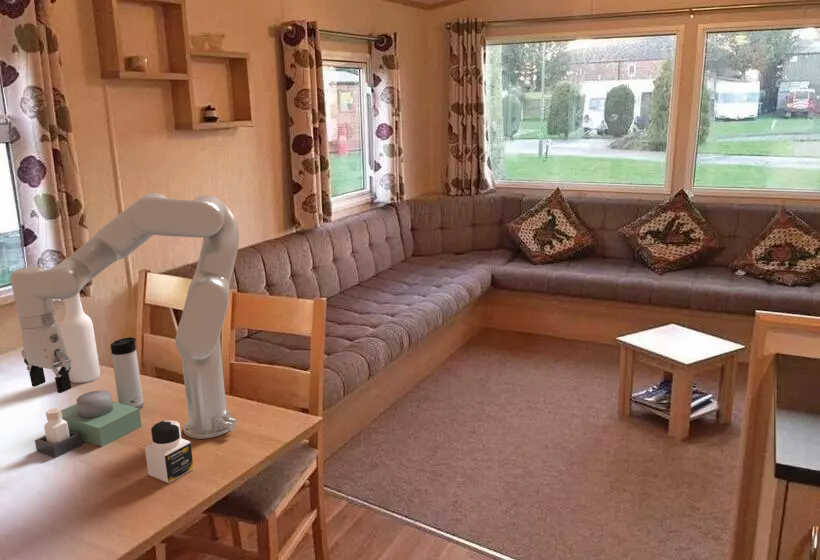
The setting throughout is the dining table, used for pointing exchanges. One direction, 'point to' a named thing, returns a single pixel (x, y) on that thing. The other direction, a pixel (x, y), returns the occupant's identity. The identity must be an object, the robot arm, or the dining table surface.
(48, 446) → the dark brown square tray
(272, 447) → the dining table surface
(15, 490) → the dining table surface
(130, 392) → the travel mug
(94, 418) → the green slab with dome
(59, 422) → the pepper shaker
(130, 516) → the dining table surface
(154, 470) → the medicine bottle
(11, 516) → the dining table surface
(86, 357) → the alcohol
